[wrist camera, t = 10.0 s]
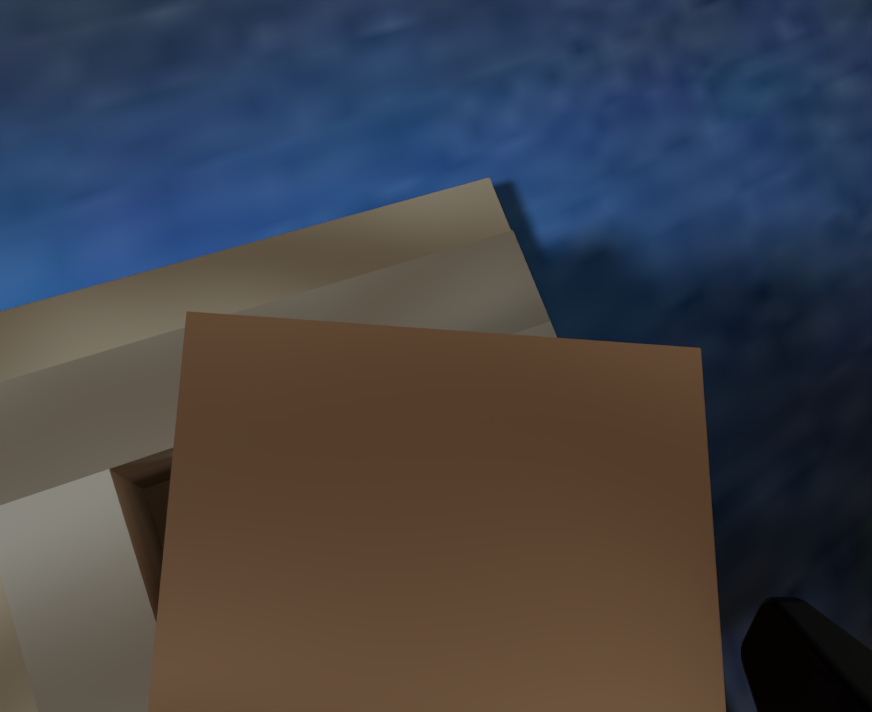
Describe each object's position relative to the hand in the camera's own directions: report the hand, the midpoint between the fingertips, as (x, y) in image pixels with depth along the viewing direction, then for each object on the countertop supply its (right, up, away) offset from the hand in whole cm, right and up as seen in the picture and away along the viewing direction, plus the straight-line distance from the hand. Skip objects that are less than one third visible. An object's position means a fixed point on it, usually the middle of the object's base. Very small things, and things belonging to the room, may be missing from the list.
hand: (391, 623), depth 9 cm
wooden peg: (-2, -2, +9) cm, 9 cm away
